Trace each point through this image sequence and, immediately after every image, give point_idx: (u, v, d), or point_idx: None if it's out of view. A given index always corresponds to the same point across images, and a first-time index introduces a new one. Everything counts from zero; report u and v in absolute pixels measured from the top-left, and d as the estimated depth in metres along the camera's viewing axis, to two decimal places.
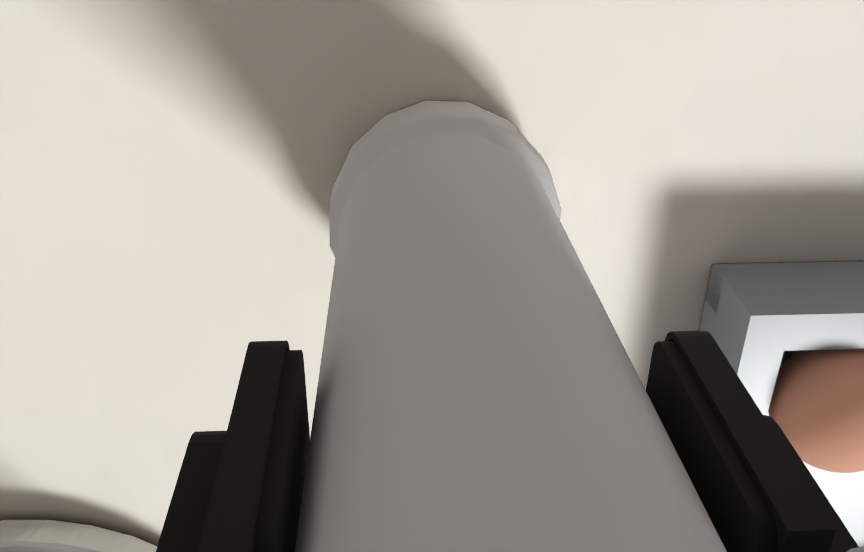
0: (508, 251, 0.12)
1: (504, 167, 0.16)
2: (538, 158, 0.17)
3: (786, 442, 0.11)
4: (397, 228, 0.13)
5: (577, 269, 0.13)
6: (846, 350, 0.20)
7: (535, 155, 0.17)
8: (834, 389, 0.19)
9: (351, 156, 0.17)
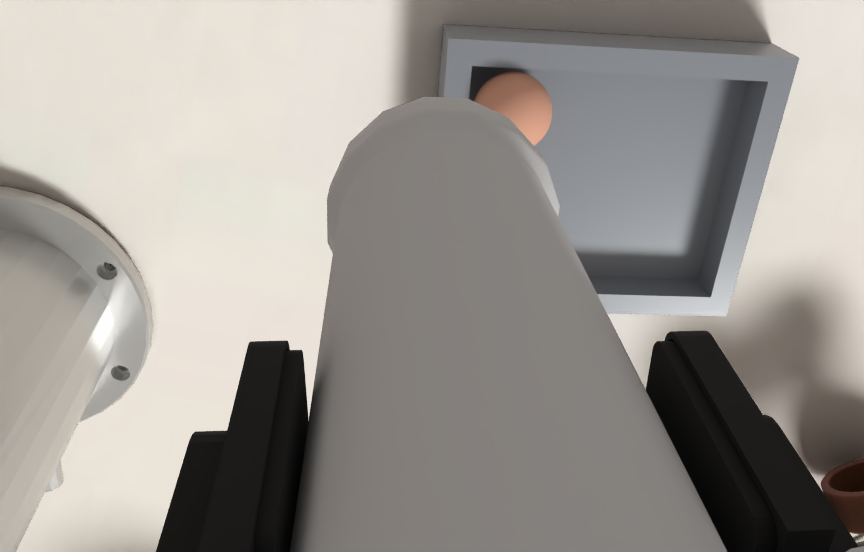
0: (506, 245, 0.12)
1: (502, 163, 0.16)
2: (536, 154, 0.17)
3: (786, 442, 0.11)
4: (394, 223, 0.13)
5: (575, 264, 0.13)
6: (513, 72, 0.32)
7: (533, 151, 0.17)
8: (499, 88, 0.32)
9: (349, 152, 0.17)
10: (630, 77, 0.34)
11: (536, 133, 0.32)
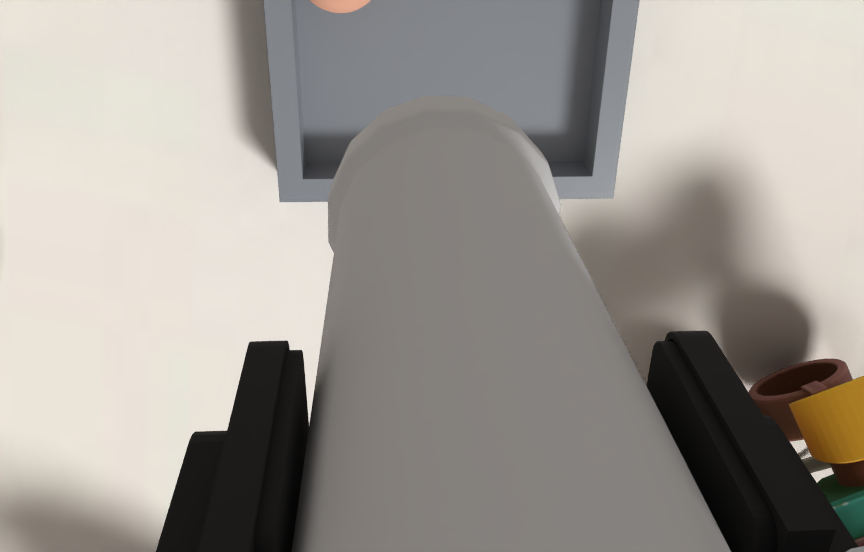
0: (508, 245, 0.12)
1: (503, 162, 0.16)
2: (538, 153, 0.17)
3: (786, 442, 0.11)
4: (396, 222, 0.13)
5: (577, 263, 0.13)
6: None
7: (534, 150, 0.17)
8: None
9: (350, 151, 0.17)
10: None
11: None
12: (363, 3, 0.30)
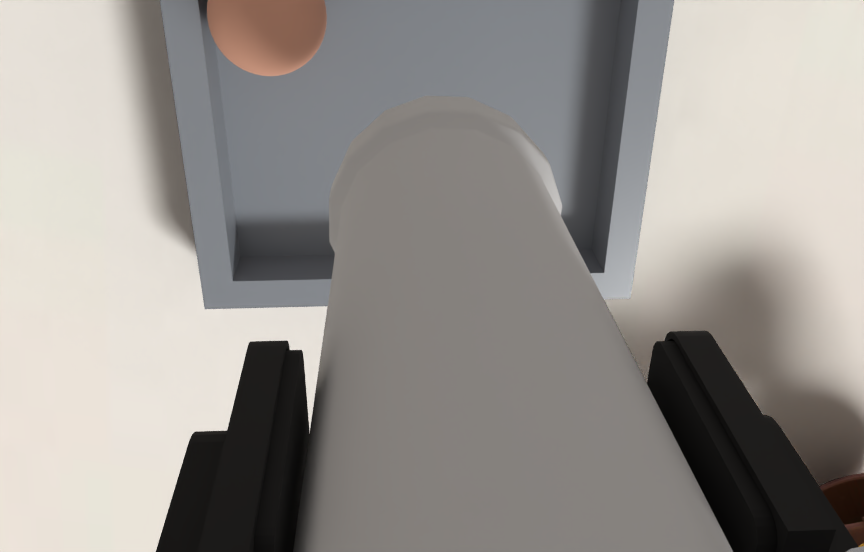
0: (509, 245, 0.12)
1: (505, 162, 0.16)
2: (539, 153, 0.17)
3: (786, 442, 0.11)
4: (397, 223, 0.13)
5: (578, 264, 0.13)
6: None
7: (536, 150, 0.17)
8: None
9: (351, 151, 0.17)
10: None
11: (294, 42, 0.22)
12: (300, 64, 0.22)
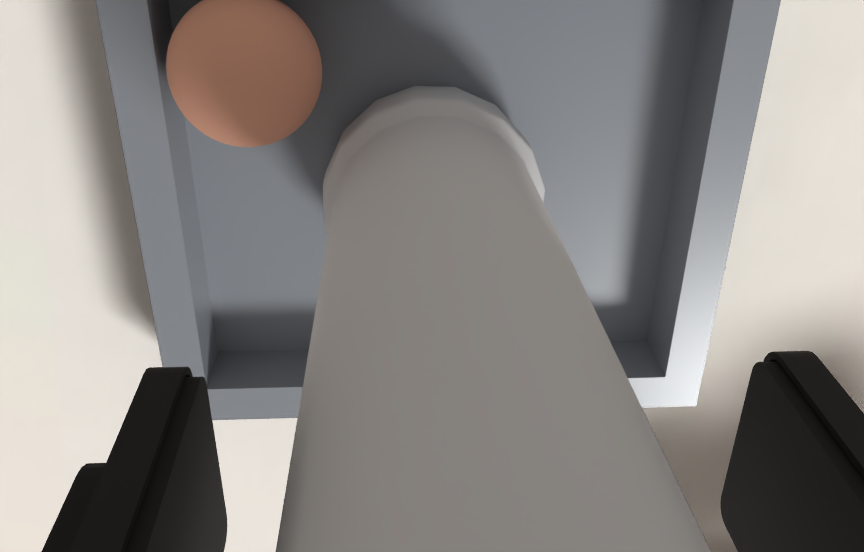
0: (487, 221, 0.13)
1: (487, 147, 0.17)
2: (522, 139, 0.18)
3: None
4: (383, 203, 0.14)
5: (554, 240, 0.14)
6: None
7: (519, 137, 0.18)
8: (194, 23, 0.16)
9: (343, 139, 0.18)
10: None
11: (278, 108, 0.16)
12: (287, 133, 0.17)
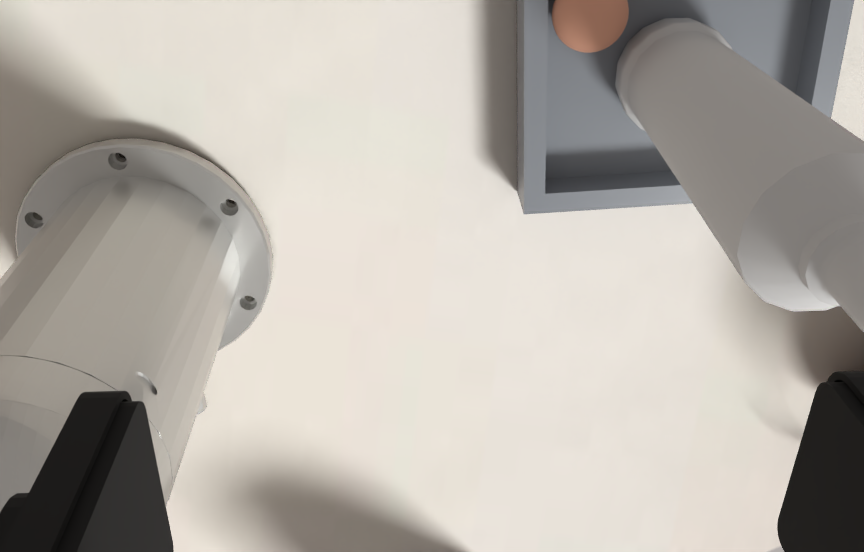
0: (742, 64, 0.30)
1: (718, 42, 0.34)
2: (726, 41, 0.35)
3: None
4: (686, 64, 0.32)
5: None
6: None
7: (725, 40, 0.35)
8: None
9: (633, 47, 0.36)
10: None
11: (615, 29, 0.34)
12: (612, 43, 0.35)
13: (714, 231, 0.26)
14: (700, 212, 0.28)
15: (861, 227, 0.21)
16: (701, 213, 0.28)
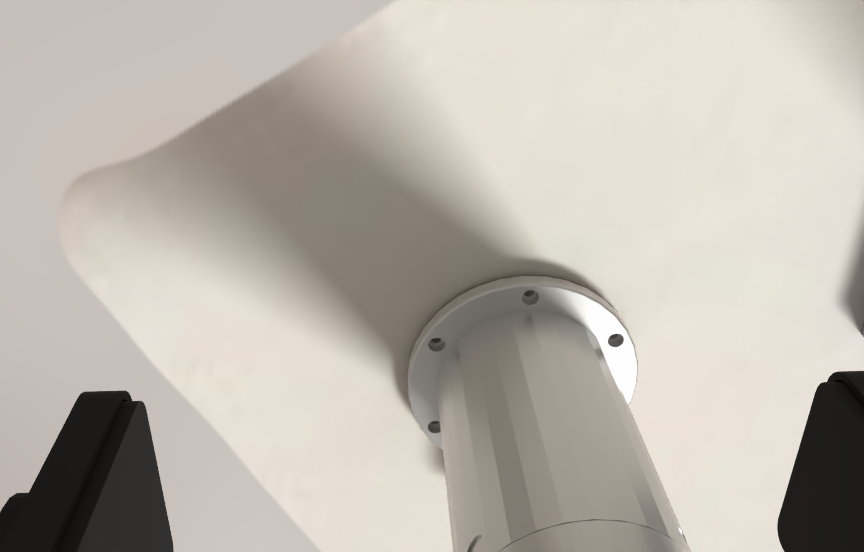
0: None
1: None
2: None
3: None
4: None
5: None
6: None
7: None
8: None
9: None
10: None
11: None
12: None
13: None
14: None
15: None
16: None
